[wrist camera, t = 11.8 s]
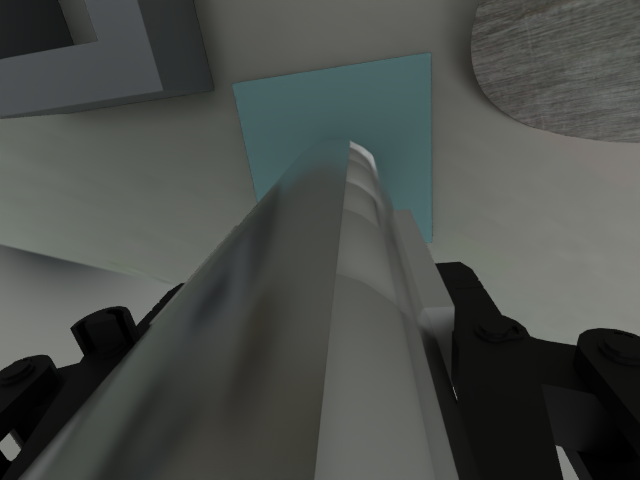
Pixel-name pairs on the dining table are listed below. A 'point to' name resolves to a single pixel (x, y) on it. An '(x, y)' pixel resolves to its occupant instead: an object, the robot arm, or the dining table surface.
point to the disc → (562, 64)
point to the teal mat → (346, 124)
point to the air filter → (283, 354)
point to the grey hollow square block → (98, 56)
